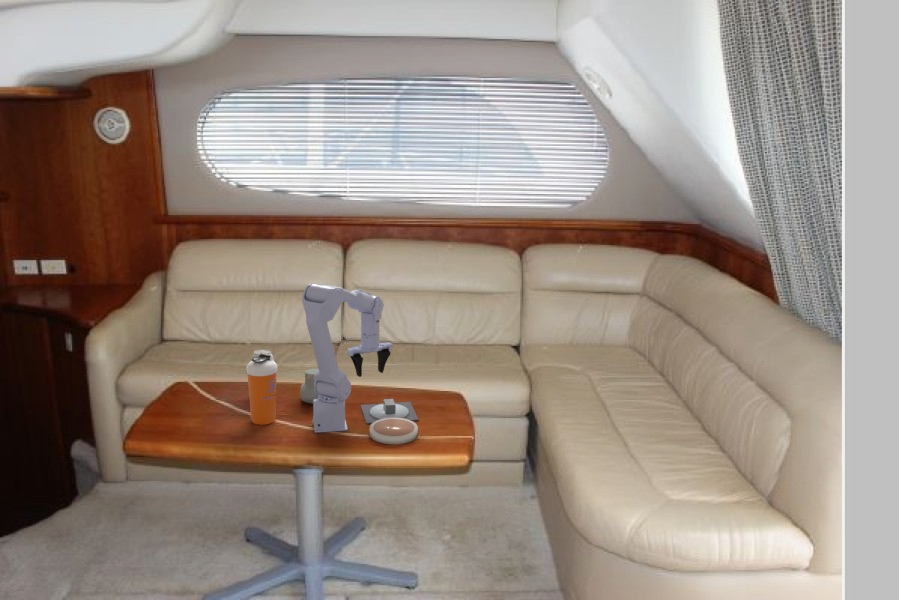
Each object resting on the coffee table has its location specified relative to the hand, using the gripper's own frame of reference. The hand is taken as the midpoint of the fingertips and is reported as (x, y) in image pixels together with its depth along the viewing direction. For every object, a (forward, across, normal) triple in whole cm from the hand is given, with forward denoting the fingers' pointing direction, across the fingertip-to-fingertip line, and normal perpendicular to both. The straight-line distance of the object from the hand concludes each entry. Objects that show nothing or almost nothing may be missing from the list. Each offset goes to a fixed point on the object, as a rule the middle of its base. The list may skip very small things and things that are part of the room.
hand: (369, 373), depth 230 cm
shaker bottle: (+11, -34, +4) cm, 35 cm away
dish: (+10, -4, -23) cm, 26 cm away
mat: (+10, +2, -9) cm, 14 cm away
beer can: (+11, -27, +23) cm, 37 cm away
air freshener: (+11, -14, +11) cm, 21 cm away
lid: (+10, +2, -10) cm, 14 cm away
